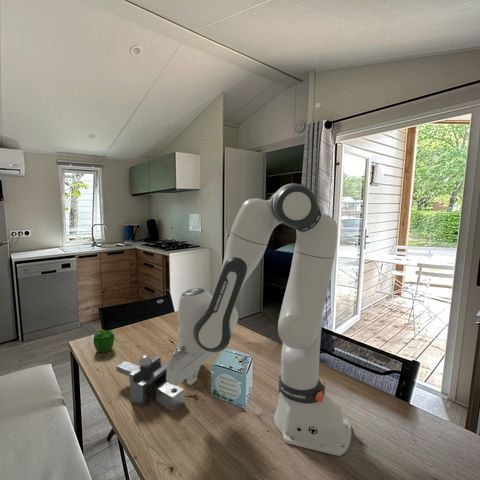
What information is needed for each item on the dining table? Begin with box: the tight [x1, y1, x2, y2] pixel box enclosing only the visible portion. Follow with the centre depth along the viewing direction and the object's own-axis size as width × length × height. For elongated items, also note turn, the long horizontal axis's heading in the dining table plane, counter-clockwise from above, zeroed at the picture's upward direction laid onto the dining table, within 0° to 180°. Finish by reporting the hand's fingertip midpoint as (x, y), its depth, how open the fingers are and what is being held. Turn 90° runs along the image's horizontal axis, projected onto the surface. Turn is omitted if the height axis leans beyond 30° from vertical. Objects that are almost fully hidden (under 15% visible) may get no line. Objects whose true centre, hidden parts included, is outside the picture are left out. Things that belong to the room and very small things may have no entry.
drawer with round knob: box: [115, 354, 168, 408], centre depth 103 cm, size 18×13×13 cm
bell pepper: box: [92, 328, 115, 353], centre depth 129 cm, size 8×8×10 cm
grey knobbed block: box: [155, 381, 185, 412], centre depth 97 cm, size 8×5×5 cm, turn 55°
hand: (191, 381), depth 91 cm, fingers closed
